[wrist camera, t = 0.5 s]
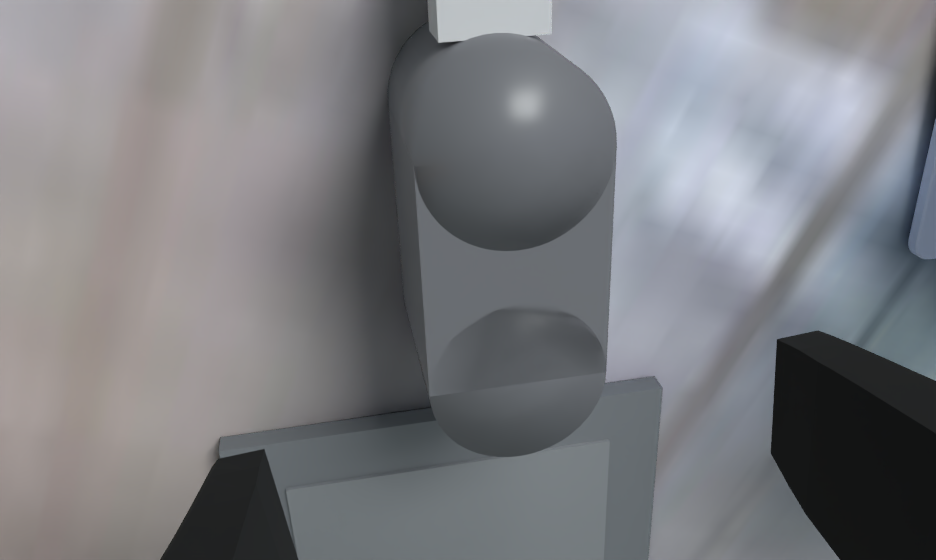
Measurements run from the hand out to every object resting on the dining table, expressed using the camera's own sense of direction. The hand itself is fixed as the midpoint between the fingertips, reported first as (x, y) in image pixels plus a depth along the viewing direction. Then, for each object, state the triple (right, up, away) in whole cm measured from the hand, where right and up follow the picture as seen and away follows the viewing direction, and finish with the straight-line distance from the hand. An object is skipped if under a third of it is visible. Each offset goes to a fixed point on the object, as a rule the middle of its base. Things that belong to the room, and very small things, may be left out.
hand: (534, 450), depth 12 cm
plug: (-1, +5, +8) cm, 10 cm away
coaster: (-1, -6, +14) cm, 16 cm away
